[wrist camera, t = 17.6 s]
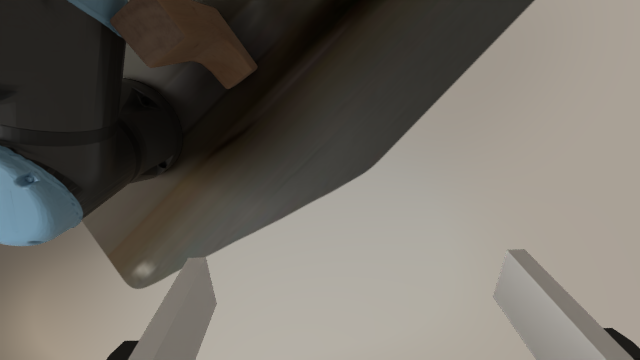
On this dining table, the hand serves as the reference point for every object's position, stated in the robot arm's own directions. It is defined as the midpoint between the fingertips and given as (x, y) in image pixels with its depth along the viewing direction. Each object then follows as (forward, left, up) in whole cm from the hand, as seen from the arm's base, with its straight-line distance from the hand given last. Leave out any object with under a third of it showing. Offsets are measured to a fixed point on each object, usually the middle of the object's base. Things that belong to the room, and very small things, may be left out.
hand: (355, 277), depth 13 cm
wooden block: (-14, +9, -35) cm, 39 cm away
